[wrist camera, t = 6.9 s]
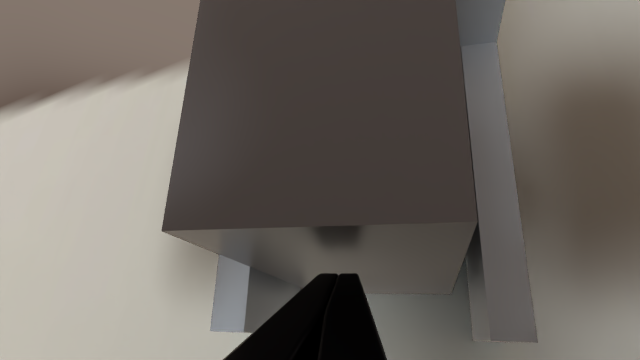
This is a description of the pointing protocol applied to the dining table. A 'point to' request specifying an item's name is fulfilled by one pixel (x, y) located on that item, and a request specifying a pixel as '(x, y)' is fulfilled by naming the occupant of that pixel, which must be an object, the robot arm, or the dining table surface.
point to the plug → (327, 142)
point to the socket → (491, 204)
